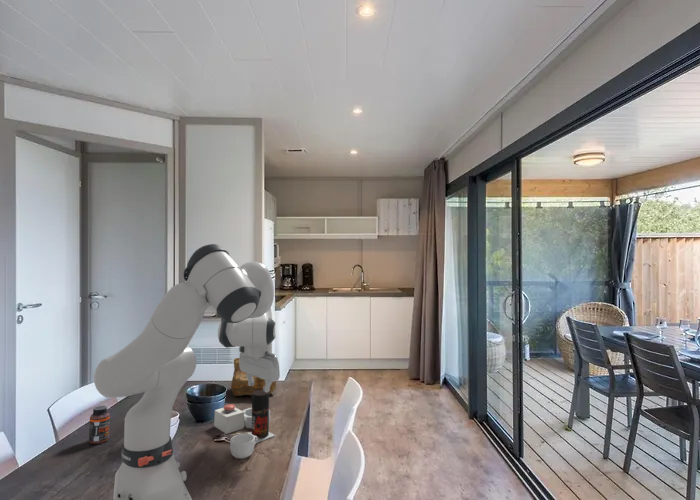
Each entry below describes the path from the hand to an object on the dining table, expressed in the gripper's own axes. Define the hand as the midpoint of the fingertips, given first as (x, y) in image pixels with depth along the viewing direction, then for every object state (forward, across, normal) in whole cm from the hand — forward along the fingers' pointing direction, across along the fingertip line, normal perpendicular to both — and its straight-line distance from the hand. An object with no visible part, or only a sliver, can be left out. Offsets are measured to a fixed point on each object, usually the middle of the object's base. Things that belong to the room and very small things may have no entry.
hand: (258, 388), depth 148 cm
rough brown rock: (+17, +40, -21) cm, 49 cm away
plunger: (+15, +14, +4) cm, 20 cm away
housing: (+17, +12, -2) cm, 20 cm away
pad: (+17, 0, 0) cm, 17 cm away
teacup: (+17, -8, +10) cm, 22 cm away
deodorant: (+16, -1, 0) cm, 17 cm away
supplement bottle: (+17, +34, +41) cm, 56 cm away
